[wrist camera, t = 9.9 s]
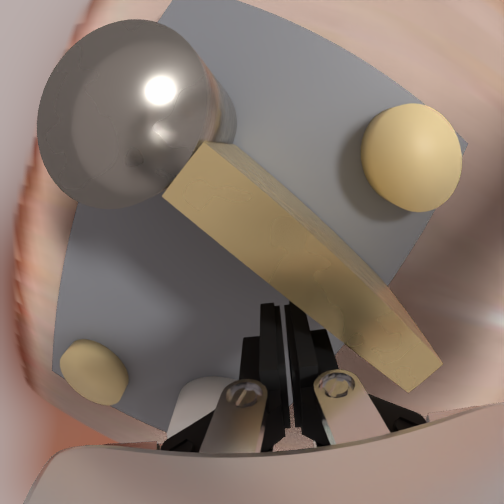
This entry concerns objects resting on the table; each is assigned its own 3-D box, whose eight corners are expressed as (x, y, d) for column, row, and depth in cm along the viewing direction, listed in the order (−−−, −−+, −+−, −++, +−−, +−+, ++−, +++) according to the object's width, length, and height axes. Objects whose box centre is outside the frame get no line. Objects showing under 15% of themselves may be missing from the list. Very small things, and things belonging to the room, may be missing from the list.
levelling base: (191, 0, 12) (153, -64, 5) (449, 142, 14) (529, 150, 8) (63, 356, 21) (23, 408, 14) (238, 439, 23) (231, 504, 16)
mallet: (115, 137, 13) (15, 143, 6) (178, 56, 11) (109, -5, 5) (338, 321, 16) (371, 419, 9) (404, 256, 14) (478, 329, 8)
